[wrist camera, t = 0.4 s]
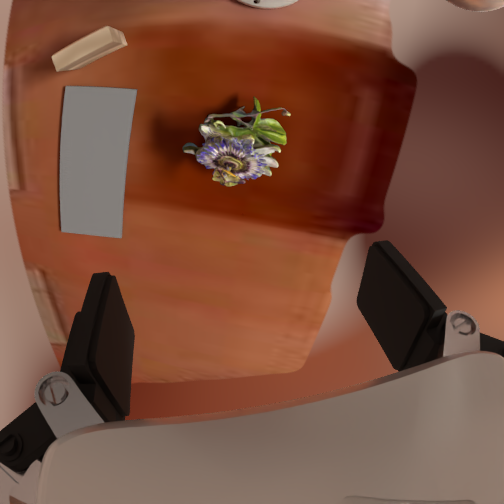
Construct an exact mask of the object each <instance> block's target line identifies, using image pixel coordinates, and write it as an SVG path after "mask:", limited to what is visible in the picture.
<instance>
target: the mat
mask: <svg viewBox="0 0 504 504" xmlns="http://www.w3.org/2000/svg"><path fill="white" fill-rule="evenodd" d="M136 94H137V89H126V88H112V87H92V86H66V87H65V96H64V105H63V115H62V128H61V145H60V213H61V231H62V232H68V233H77V234H86V235H96V236H105V237H115V238H122V223H123V205H124V191H125V179H126V168H127V159H128V150H129V141H130V134H131V126H132V119H133V113H134V106H135V100H136Z"/></svg>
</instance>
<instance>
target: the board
mask: <svg viewBox="0 0 504 504" xmlns="http://www.w3.org/2000/svg"><path fill="white" fill-rule="evenodd" d="M125 46H127V42H126V40H125V37H124V34H123V32H121V31H119V30H116V29H114V28H112V27H109V26H104V27H102V28H100V29H98V30H96V31H94V32H92V33H90V34H88V35H86V36H84V37H82V38H81V39H79V40H77V41H75V42H73V43H72V44H70V45H68V46H66V47H65V48H63V49H61V50H60V51H58V52H56V53H55V54H53V56H52V60H53V63H54V65H55V68H56V71H57V72H58V71H65V70H74V69H80V68H82V67H84V66H86V65H88V64H90V63H92V62H93V61H95V60H97V59H99V58H101V57H103V56H105V55H107V54H109V53H112V52H114V51H116V50H118V49H120V48H122V47H125Z"/></svg>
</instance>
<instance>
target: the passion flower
mask: <svg viewBox="0 0 504 504" xmlns="http://www.w3.org/2000/svg"><path fill="white" fill-rule="evenodd" d="M253 98H254V109H253V111H252V112H251V113H248V114H246V113H245V112H244V111H243V109H244V108H245V106H243V107H242V108H240V109H239V110H237V111H234V112H231V113H230V114H210V115H208V116H207V117H206V118H205V122H206V123H205V122H204V123H205V124H200V126H199V132H200V133H201V135H203V136H204V138H205V143H202V145H203V147H197V146H196V145H195V144H194V143H191V142H190V143H186V144H185V145H184V146H183V152H184V153H191V154H194V155H195V157H196V158H197V161H198V162H199V163H201V164H204V165H205V167H206V169H211V168H214V169H215V170H214V172H213V177H212V180H215V181H220V184H221V185H226V186H233V185H236V184H237V183H238V184H241V183H242V184H244V183H245V180H244V179H243V178H246V179H247V178H252V179H256V178H257V177H260V176H261V173H263V174H265V175H267V176H271V174H272V173H271V170H270V168H269V166H270V167H276V168H277V167H278V163H277V161H276V159H274V158H273V157H272V156H271V154H272V153H273V152H274V151H278V152H279V153H280V152H281V150H280V147H279V146H278V145H273V144H271V143H270V141H272V142H275V143H277V144H282V145H285V144H286V133H285V131H284V129H283V128H282V127H281V126H280V123H279V122H277V121H276V120H275V119H269V118H268V119H261V118H260V117H261V113H264V112H269V111H273V110H279V109H284V108H281V107H280V108H273V109H268V110H263V111H261V108H260V104H259V102H258V100H257V99H256V98H255V97H253ZM282 115H283V116H284V115H286V116H290V115H291V114H290V113H289V112H287V110H286V109H284V111H283V112H282ZM247 116H251V118H252V120H251V121H250V122H249V123H244V122H243V121H242V120H241V119H240V118H241V117H247ZM214 117H231V118H232V119H233V120H235V121H236V122H237V127H235V126H227V125H224V124H223V123H222V122H221V121H219V120H214V119H213V118H214ZM218 124H221V125H222V126H218ZM240 125H245V126H246V127H239V126H240ZM247 180H248V179H247Z"/></svg>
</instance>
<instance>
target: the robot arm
mask: <svg viewBox="0 0 504 504" xmlns="http://www.w3.org/2000/svg"><path fill="white" fill-rule="evenodd" d="M237 1H239V2H241V3H243V4H245V5H248V6H251V7H255V8H261V9H276V8H282V7H285V6H288V5H291V4H293V3H295V2H297V1H298V0H237ZM254 1H257V3H256V4H255V3H254ZM447 1H448V2H450V3H452V4H453V5H455V6H457V7H459V8H462V9H464V10H469V11H474V12H485V11H491V10H495V9H498V8H501V7H504V0H447ZM357 305H358V308H359V310H360V311H361V313H362V315H363V316H364V318H365V320H366V321H367V323H368V325H369V326H370V328H371V330H372V331H373V333H374V335H375V336H376V338H377V340H378V342H379V343H380V345H381V347H382V349H383V350H384V352H385V354H386V356H387V357H388V359H389V361H390V363H391V364H392V366H393V368H394V369H396V370H398V371H399V372H397V373H394V374H391V375H388V376H384V377H381V378H378V379H374V380H371V381H367V382H364V383H360V384H357V385H353V386H349V387H346V388H342V389H338V390H334V391H330V392H326V393H322V394H317V395H313V396H309V397H304V398H300V399H294V400H290V401H285V402H279V403H274V404H269V405H263V406H257V407H251V408H244V409H238V410H231V411H224V412H216V413H207V414H198V415H188V416H178V417H166V418H153V419H137V420H126V421H125V416H129V413H130V393H131V376H132V362H133V350H134V339H135V335H134V329H133V326H132V324H131V321H130V318H129V315H128V312H127V310H126V307H125V304H124V301H123V298H122V295H121V292H120V289H119V286H118V283H117V280H116V277H115V276H111V275H110V273H109V272H103V273H94V274H93V275H92V278H91V281H90V284H89V287H88V290H87V293H86V297H85V300H84V303H83V306H82V310H81V312H77V313H76V315H75V317H74V321H73V324H72V328H71V331H70V335H69V339H68V342H67V346H66V350H65V354H64V358H63V362H62V366H61V371H60V372H52V373H49V374H47V375H45V376H44V377H43V378H42V379H41V380H40V381H39V382H38V384H37V385H36V388H35V400H36V403H34V404H33V405H32V406H31V407H29V408H28V409H27V410H26V411H24V412H23V413H22V414H21V415H19V416H18V417H17V418H16V419H14V420H13V421H12V422H11V423H10V424H8V425H7V426H6V427H5V428H3V429H2V430H1V431H0V504H504V341H501V340H498V339H496V338H493V337H490V336H488V335H485V334H482V333H480V328H479V324H478V323H477V321H476V320H475V318H474V317H473V316H471V315H470V314H468V313H466V312H463V311H459V310H457V311H452V312H450V313H449V314H448V315H447V313H446V312H445V311H446V309H447V307H446V306H445V305H444V303H443V302H442V301H441V300H440V299H439V297H438V296H437V295H436V294H435V292H434V291H433V290H432V289H431V288H430V286H429V285H428V284H427V283H426V282H425V281H424V280H423V278H422V277H421V276H420V275H419V274H418V272H417V271H416V270H415V269H414V268H413V267H412V266H411V265H410V264H409V262H408V261H407V260H406V259H405V258H404V257H403V256H402V254H401V253H399V251H398V250H397V249H396V248H395V247H394V246H393V245H392V244H391V243H390V242H389V241H378V242H374V243H373V244H372V246H370V247H369V250H368V255H367V259H366V264H365V268H364V272H363V276H362V280H361V284H360V288H359V292H358V296H357Z"/></svg>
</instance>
